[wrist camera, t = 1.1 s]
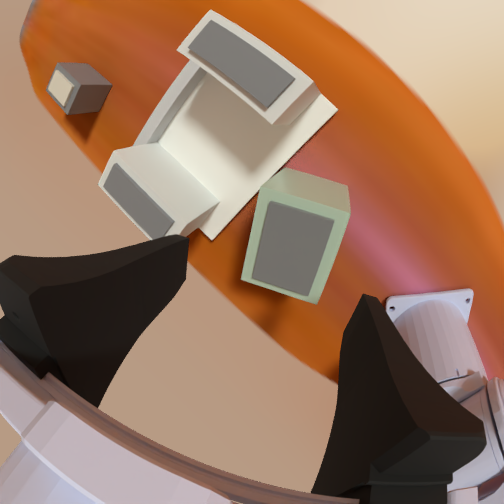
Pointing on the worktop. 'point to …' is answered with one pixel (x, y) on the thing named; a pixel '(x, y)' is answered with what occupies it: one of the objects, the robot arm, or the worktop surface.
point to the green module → (296, 233)
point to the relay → (78, 88)
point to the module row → (215, 134)
